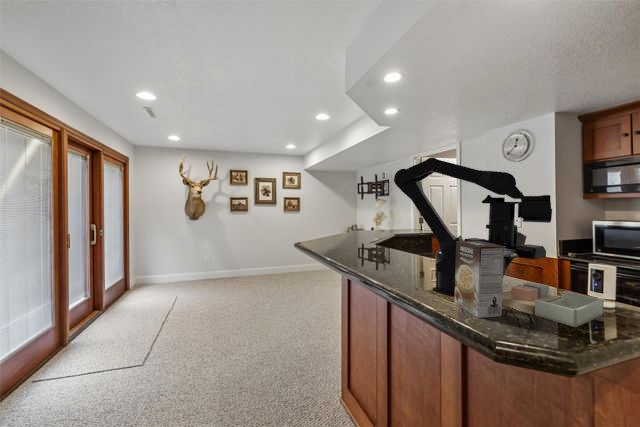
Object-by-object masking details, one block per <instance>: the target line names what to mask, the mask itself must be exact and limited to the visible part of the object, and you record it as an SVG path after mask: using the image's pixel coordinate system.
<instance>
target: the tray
mask: <svg viewBox="0 0 640 427" xmlns="http://www.w3.org/2000/svg"><path fill="white" fill-rule="evenodd" d="M604 302H605V300H604V299H602V298H597V297H592V296H588V295H584V294H579V293H575V292H569V291H564V290H563V291H562V298H561V299H558V300H555V301H552V302H550V303H547V302H544V301H540V300H535V314H534V316H536V317H539V316H540V317H539V318H542V317H544V319H546V318H547V319H546V320H549V321H553V322H556V323H559V324H563V325H566V326H569V327H573V328H578V327H580V326H582V325H584V324H587V323H589V322H591V321H593V320H595V319H597V318H599V317H601V316H603V315H604Z"/></svg>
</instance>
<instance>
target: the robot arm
mask: <svg viewBox="0 0 640 427" xmlns="http://www.w3.org/2000/svg"><path fill="white" fill-rule="evenodd" d="M434 173H435V174H436V173H437V174H440V175H443V176H446V177H450V178H454V179H457V180H460V181H464V182H467V183H472V184H475V185H476V186H479V187H481V188H483V189H485V190H487V191H489V192H492V193H494V194H495V195H499V196H507V197H510V198H511V199H513V200H520V201H505V200H506V198H505V197H497V196H496V197H493V196H491V195H490V194H487V195H486V197H485V198H484V199H483V200H481V204H489V206H488V207H489V208H488V216H489V217H488V224H485V229H488V237H487V238H488V239H486V238H479V237H470V238H469V237H467V238H463V237H462V235H459V236H457V237H456V236H455V235H454V234H453V233H452V232H451V231H450V230H449V228H448V227H447V225H446V224H445V222H444V221H443V218H441V216H440V215H439V213H438V211H437V210H436V209H435V208H434V205H433V204H432V203H431V201H430V200H429V198H428V197H427V195H426V193H425V192H424V189H423V186H422V183H421V181H423V180H424V179H426V178H427V177H429V176H431V175H432V174H434ZM393 183H394V185H395V186H396V187H397V188H398V189H399V190H400V191H401V192H402V193H403V194H404V195H406V196H407V198H409V199H410V200H411V201H412V203H413V205H414V206H415V208H416V210H417V211H418V212H419V214H420V215H421V217H422V219H423V220H424V221H425V223H426V225H427V226H428V227H429V229H430V230H431V232H432V234H433V235H434V237H435V238H436V240H437V242H438V247H439V246H440V248H439V250H441V252H442V255H443V257H444V258H442V259H441V260H440V261H439V262H438V263H437V264H436V277H435V286H434V287H432V288H431V289H432V291H434V292H438V293H441V294H444V295H447V296H448V295H449V296H455V268H456V241H482V242H487V243H491V244H496V245H500V246H504V261H503V278H504V277H505V274H506V273H507V271H508V268H509V266H510V265H511V263H512V262H513V260H515V259H517V258H521V259H527V260H539V259H544V258H545V259H546V257H547V250H546V248H545V247H544V246H543V245H537V244H526V242H527V241H526V240H527V235H526V234H524V233H522V232H519V230H518V224H515V216H516V213H515V212H516V204H517V218H519V219H522V222H524V223H547V224H549V223H551V222H552V215H553V208H552V202H551V195H550V194H542V195H524V194H523V191H520V189H519V188H518V187H517V186H516V185H517V181H516V178H515V176H514V175H513V174H512V173H509V172H505V171H496V170H482V169H475V168H472V167H468V166H464V165H461V164H457V163H452V162H448V161H445V160H440V159H437V158H436V157H432V156H431V157H428V158H426V159H425V160H423V161H422V162H419V163H417V164H414V165H412V166H409V167H407V168H401V169H399V170H397V171H396V172H395V174H394V177H393Z"/></svg>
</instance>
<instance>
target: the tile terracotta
mask: <svg viewBox="0 0 640 427" xmlns="http://www.w3.org/2000/svg"><path fill="white" fill-rule="evenodd" d="M511 291H512V293H511V297H513V298H517V299H521V300H525V301H528V302H530V301H533V300H536V299H538V289H536V288H532V287H527V286H523V284H519V285H515V286H511Z"/></svg>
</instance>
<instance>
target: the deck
mask: <svg viewBox="0 0 640 427" xmlns="http://www.w3.org/2000/svg"><path fill="white" fill-rule="evenodd" d="M511 293H512V290H508V291H505V292H502V307H505V306H506V307H505V308H509V307H510V308H509V309H512V308H513V310H515V309H516V311H519V312H523V313H525V314H526V313H527V314H528V315H535V300H533V301H530V302H528V301H525V300H521V299H517V298H513V297H511ZM561 298H563V296H560V295H557V294H551V293H549V295H548V296H546V297H542V298H538V299H536V300H540V301H544V302H547V303H550V302H552V301H555V300H558V299H561Z"/></svg>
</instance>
